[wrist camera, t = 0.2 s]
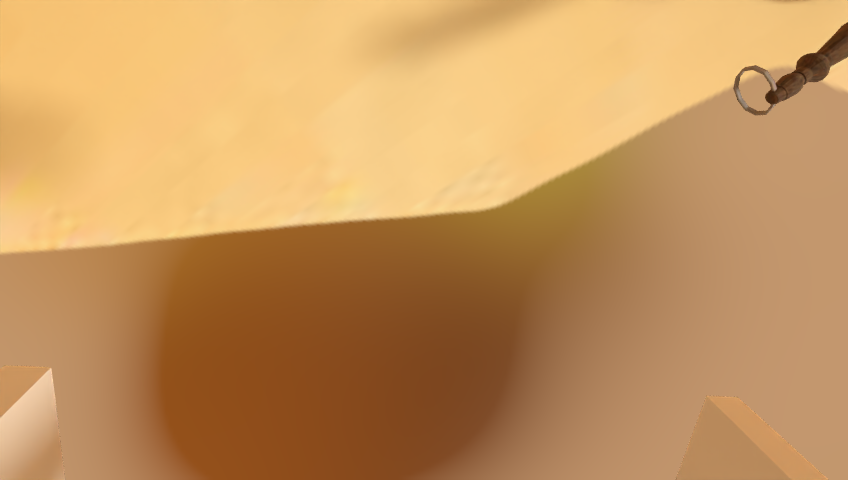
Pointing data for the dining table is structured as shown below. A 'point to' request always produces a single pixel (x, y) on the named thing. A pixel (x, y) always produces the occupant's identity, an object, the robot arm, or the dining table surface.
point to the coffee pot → (800, 71)
